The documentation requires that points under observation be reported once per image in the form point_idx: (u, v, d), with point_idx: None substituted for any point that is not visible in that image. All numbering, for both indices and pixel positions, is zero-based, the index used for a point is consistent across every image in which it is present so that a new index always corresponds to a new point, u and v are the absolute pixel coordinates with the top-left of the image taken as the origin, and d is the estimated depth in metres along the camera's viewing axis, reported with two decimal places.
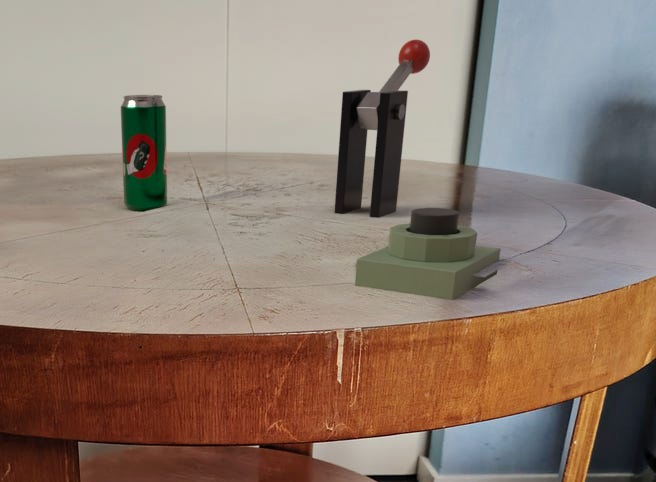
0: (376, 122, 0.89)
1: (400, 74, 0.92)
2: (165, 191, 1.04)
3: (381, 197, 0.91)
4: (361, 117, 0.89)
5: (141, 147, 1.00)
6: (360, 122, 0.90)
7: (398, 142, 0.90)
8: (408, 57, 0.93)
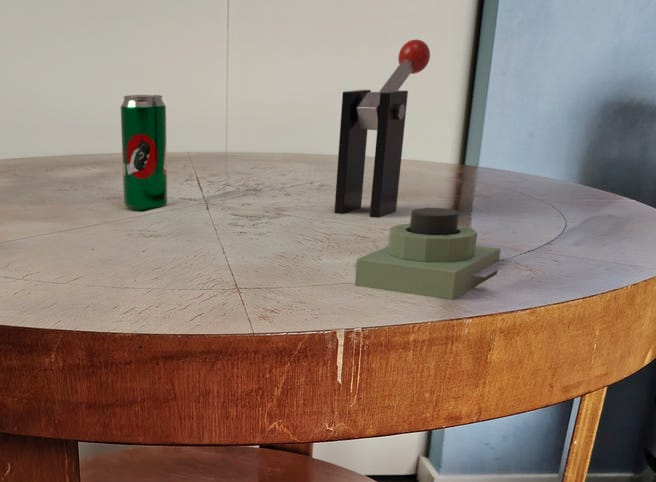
0: (376, 122, 0.89)
1: (400, 74, 0.92)
2: (165, 191, 1.04)
3: (381, 197, 0.91)
4: (361, 117, 0.89)
5: (141, 147, 1.00)
6: (360, 122, 0.90)
7: (398, 142, 0.90)
8: (408, 57, 0.93)
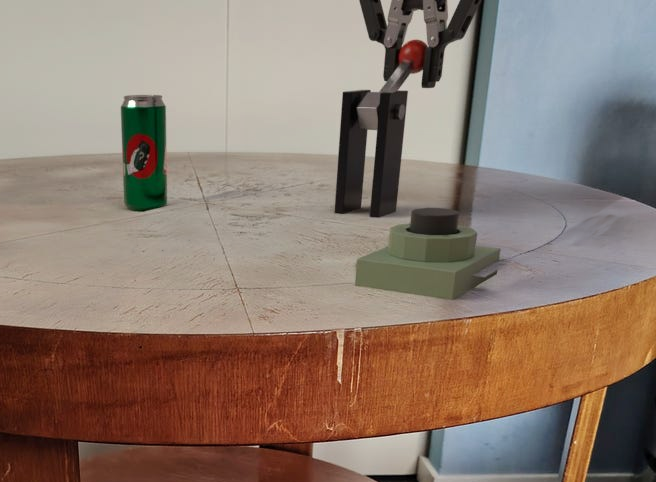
0: (376, 122, 0.89)
1: (400, 74, 0.92)
2: (165, 191, 1.04)
3: (381, 197, 0.91)
4: (361, 117, 0.89)
5: (141, 147, 1.00)
6: (360, 122, 0.90)
7: (398, 142, 0.90)
8: (408, 57, 0.93)
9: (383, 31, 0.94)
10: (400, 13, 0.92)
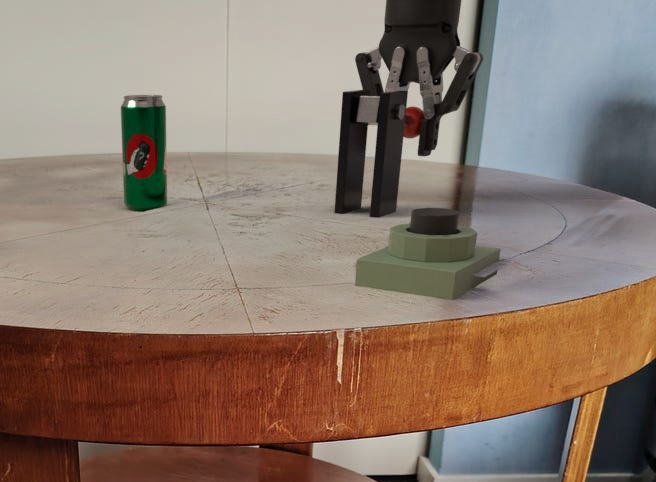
0: (375, 113, 0.88)
1: None
2: (165, 191, 1.04)
3: (381, 197, 0.91)
4: (362, 107, 0.89)
5: (141, 147, 1.00)
6: (359, 113, 0.89)
7: (398, 142, 0.90)
8: (407, 114, 0.96)
9: None
10: (397, 86, 0.95)
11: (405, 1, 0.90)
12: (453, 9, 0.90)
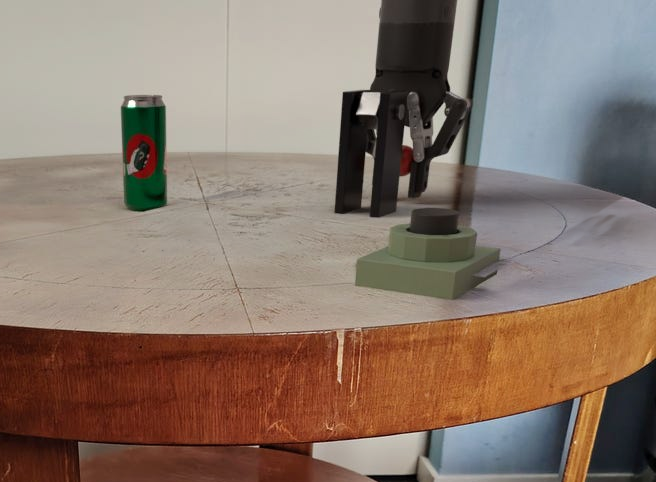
0: (376, 106, 0.88)
1: None
2: (165, 191, 1.04)
3: (381, 197, 0.91)
4: (363, 101, 0.89)
5: (141, 147, 1.00)
6: (360, 107, 0.89)
7: (398, 142, 0.90)
8: None
9: (372, 143, 0.99)
10: None
11: (395, 48, 0.91)
12: (443, 56, 0.91)
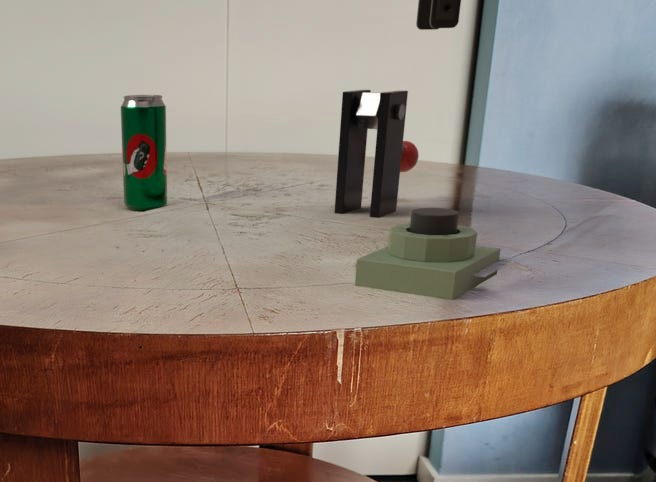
0: (376, 107, 0.88)
1: None
2: (165, 191, 1.04)
3: (381, 197, 0.91)
4: (363, 102, 0.89)
5: (141, 147, 1.00)
6: (360, 107, 0.89)
7: (398, 142, 0.90)
8: None
9: None
10: None
11: None
12: None
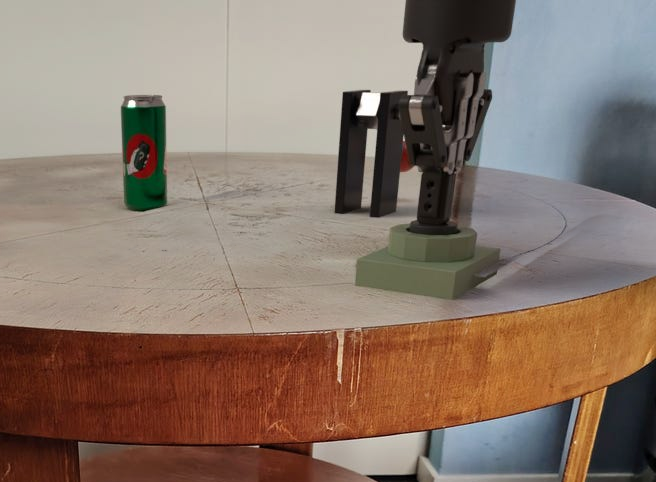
0: (376, 107, 0.88)
1: None
2: (165, 191, 1.04)
3: (381, 197, 0.91)
4: (363, 102, 0.89)
5: (141, 147, 1.00)
6: (360, 107, 0.89)
7: (398, 142, 0.90)
8: None
9: None
10: None
11: None
12: (427, 19, 0.62)
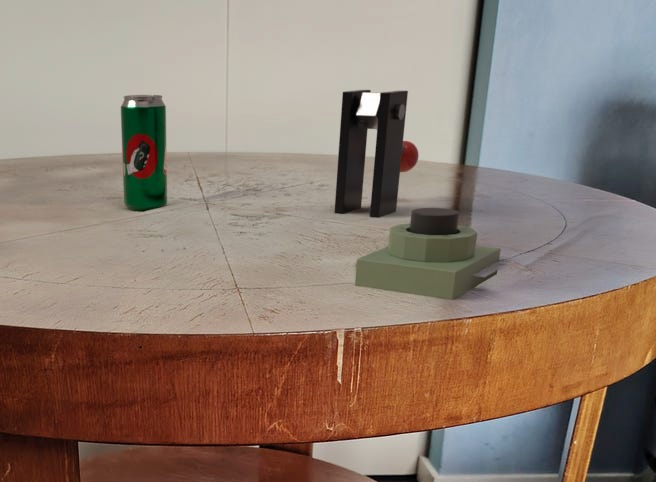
0: (376, 107, 0.88)
1: None
2: (165, 191, 1.04)
3: (381, 197, 0.91)
4: (363, 102, 0.89)
5: (141, 147, 1.00)
6: (360, 107, 0.89)
7: (398, 142, 0.90)
8: None
9: None
10: None
11: None
12: None
